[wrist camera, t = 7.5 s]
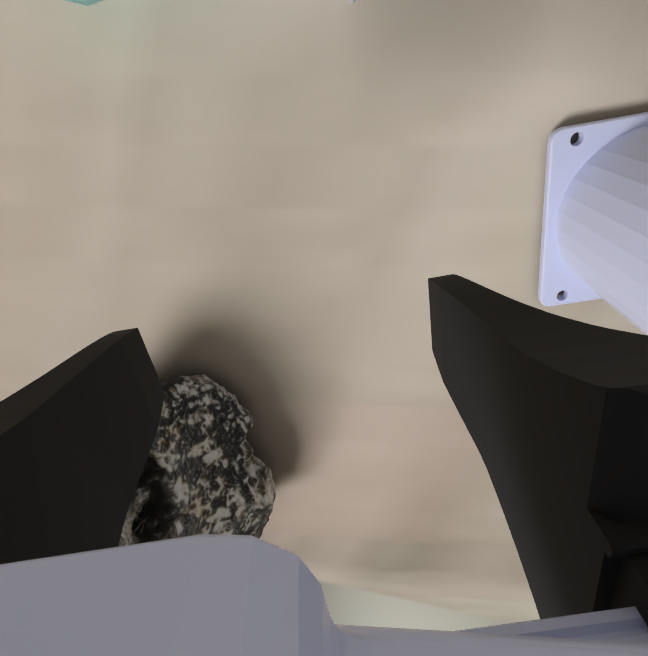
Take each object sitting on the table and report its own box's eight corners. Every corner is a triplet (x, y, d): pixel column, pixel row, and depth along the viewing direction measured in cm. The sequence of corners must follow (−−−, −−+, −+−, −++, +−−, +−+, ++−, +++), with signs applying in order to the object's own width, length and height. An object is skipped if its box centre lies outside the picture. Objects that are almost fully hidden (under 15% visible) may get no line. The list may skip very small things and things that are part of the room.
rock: (41, 348, 26) (-54, 548, 22) (150, 335, 20) (51, 600, 16) (213, 420, 35) (170, 568, 31) (319, 424, 30) (284, 605, 26)
